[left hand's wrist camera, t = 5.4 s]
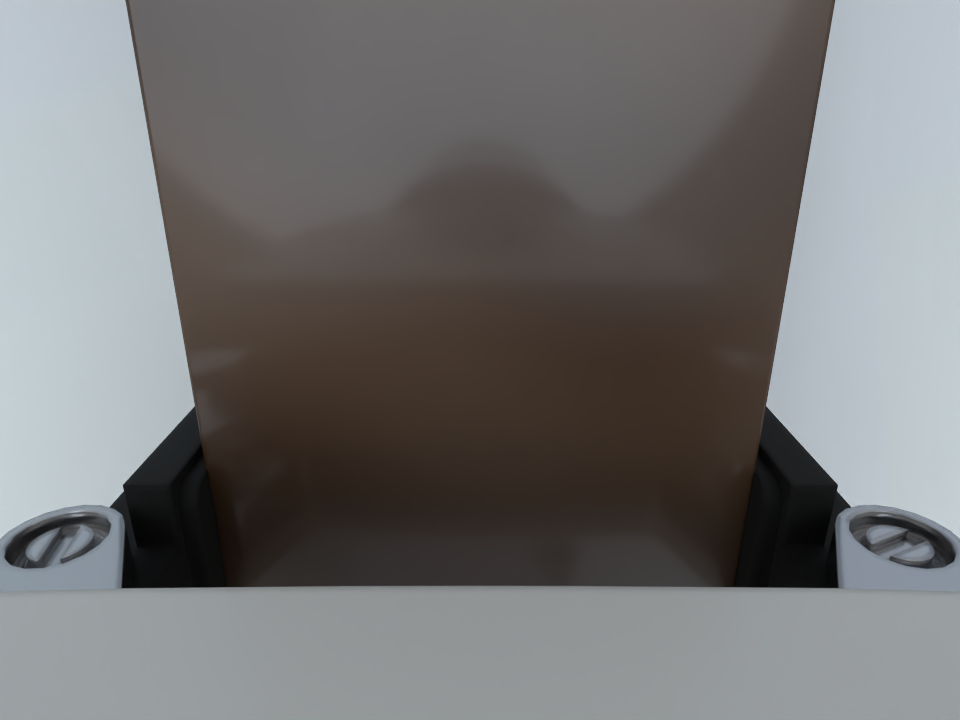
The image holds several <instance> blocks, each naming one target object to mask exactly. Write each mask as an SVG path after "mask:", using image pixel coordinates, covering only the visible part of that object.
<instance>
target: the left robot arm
mask: <svg viewBox="0 0 960 720" xmlns="http://www.w3.org/2000/svg"><path fill="white" fill-rule="evenodd" d="M837 487H838V485H837V484H836V483H835V481H834V480H833V479H832V478H831V477H830V476H829V475H828V474H827V473H826V472H825V470H824V469H823V468H822V467H821V466H820V465H819V464H818V463H817V462H816V461H815V460H814V458H813V457H812V456H811V455H810V454H809V453H808V452H807V451H806V450H805V449H804V447H803V446H802V445H801V444H800V443H799V442H798V441H797V440H796V439H795V438H794V436H793V435H792V434H791V433H790V432H789V431H788V430H787V429H786V428H785V427H784V426H783V424H782V423H781V422H780V421H779V420H778V419H777V418H776V417H775V416H774V415H773V413H772V412H771V411H770V410H769V409H768V408H767V407H766V408H765V414H764V419H763V425H762V431H761V437H760V443H759V449H758V455H757V460H756V466H755V471H754V476H753V482H752V488H751V493H750V499H749V505H748V511H747V517H746V523H745V528H744V534H743V540H742V546H741V552H740V558H739V564H738V569H737V575H736V581H735V587H631V586H306V587H227V584H226V578H225V572H224V566H223V560H222V554H221V548H220V543H219V537H218V531H217V525H216V519H215V513H214V507H213V501H212V496H211V490H210V484H209V478H208V472H207V470H206V467H205V461H204V455H203V449H202V444H201V438H200V432H199V426H198V420H197V414H196V408H195V407H194V408H193V409H192V410H191V411H190V412H189V413H188V414H187V416H186V417H185V418H184V419H183V420H182V421H181V422H180V423H179V424H178V425H177V426H176V428H175V429H174V430H173V431H172V432H171V433H170V434H169V435H168V436H167V437H166V439H165V440H164V441H163V442H162V443H161V444H160V445H159V446H158V447H157V448H156V450H155V451H154V452H153V453H152V454H151V455H150V456H149V457H148V458H147V459H146V460H145V462H144V463H143V464H142V465H141V466H140V467H139V468H138V469H137V470H136V471H135V473H134V474H133V475H132V476H131V477H130V478H129V479H128V480H127V481H126V482H125V483H124V485H123V488H124V492H123V493H122V494H121V495H120V496H119V497H118V499H117V500H116V501H115V502H114V503H113V504H112V505H111V506H110V507H105V506H100V505H82V506H74V507H67V508H63V509H59V510H55V511H52V512H48V513H45V514H42V515H40V516H38V517H35V518H33V519H30V520H28V521H26V522H24V523H22V524H21V525H19V526H17V527H15V528H14V529H12V530H10V531H9V532H8V533H6V534H5V535H4V536H3V537H2V538H1V539H0V720H960V539H959V538H958V537H957V536H956V535H955V534H954V533H952V532H951V531H950V530H948V529H946V528H945V527H943V526H941V525H939V524H938V523H936V522H934V521H932V520H930V519H927V518H925V517H922V516H920V515H918V514H915V513H912V512H908V511H905V510H901V509H897V508H893V507H886V506H878V505H860V506H855V507H850V505H849V504H848V503H847V502H846V501H845V500H844V499H843V498H842V496H841V495H840V494H839V493H838V492H837Z"/></svg>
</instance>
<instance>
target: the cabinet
mask: <svg viewBox="0 0 960 720" xmlns="http://www.w3.org/2000/svg"><path fill="white" fill-rule="evenodd" d="M834 4H835V0H126V5H127V11H128V17H129V23H130V29H131V35H132V40H133V46H134V52H135V58H136V64H137V70H138V76H139V81H140V87H141V93H142V99H143V105H144V111H145V116H146V122H147V128H148V134H149V140H150V146H151V151H152V157H153V163H154V169H155V175H156V181H157V186H158V192H159V198H160V204H161V210H162V216H163V222H164V227H165V233H166V239H167V245H168V251H169V257H170V262H171V268H172V274H173V280H174V286H175V292H176V297H177V303H178V309H179V315H180V321H181V327H182V333H183V338H184V344H185V350H186V356H187V362H188V368H189V373H190V379H191V385H192V391H193V397H194V403H195V408H196V414H197V420H198V426H199V432H200V438H201V444H202V449H203V455H204V461H205V467H206V470H207V472H208V478H209V484H210V490H211V496H212V501H213V507H214V513H215V519H216V525H217V531H218V537H219V543H220V548H221V554H222V560H223V566H224V572H225V578H226V584H227V587H306V586H631V587H735V581H736V575H737V569H738V564H739V558H740V552H741V546H742V540H743V534H744V528H745V523H746V517H747V511H748V505H749V499H750V493H751V488H752V482H753V476H754V471H755V466H756V460H757V455H758V449H759V443H760V437H761V431H762V425H763V419H764V414H765V408H766V402H767V396H768V390H769V384H770V378H771V373H772V367H773V361H774V355H775V349H776V343H777V337H778V332H779V326H780V320H781V314H782V308H783V302H784V296H785V291H786V285H787V279H788V273H789V267H790V261H791V255H792V250H793V244H794V238H795V232H796V226H797V220H798V214H799V209H800V203H801V197H802V191H803V185H804V179H805V173H806V168H807V162H808V156H809V150H810V144H811V138H812V132H813V127H814V121H815V115H816V109H817V103H818V97H819V91H820V86H821V80H822V74H823V68H824V62H825V56H826V50H827V45H828V39H829V33H830V27H831V21H832V15H833V9H834Z"/></svg>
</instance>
